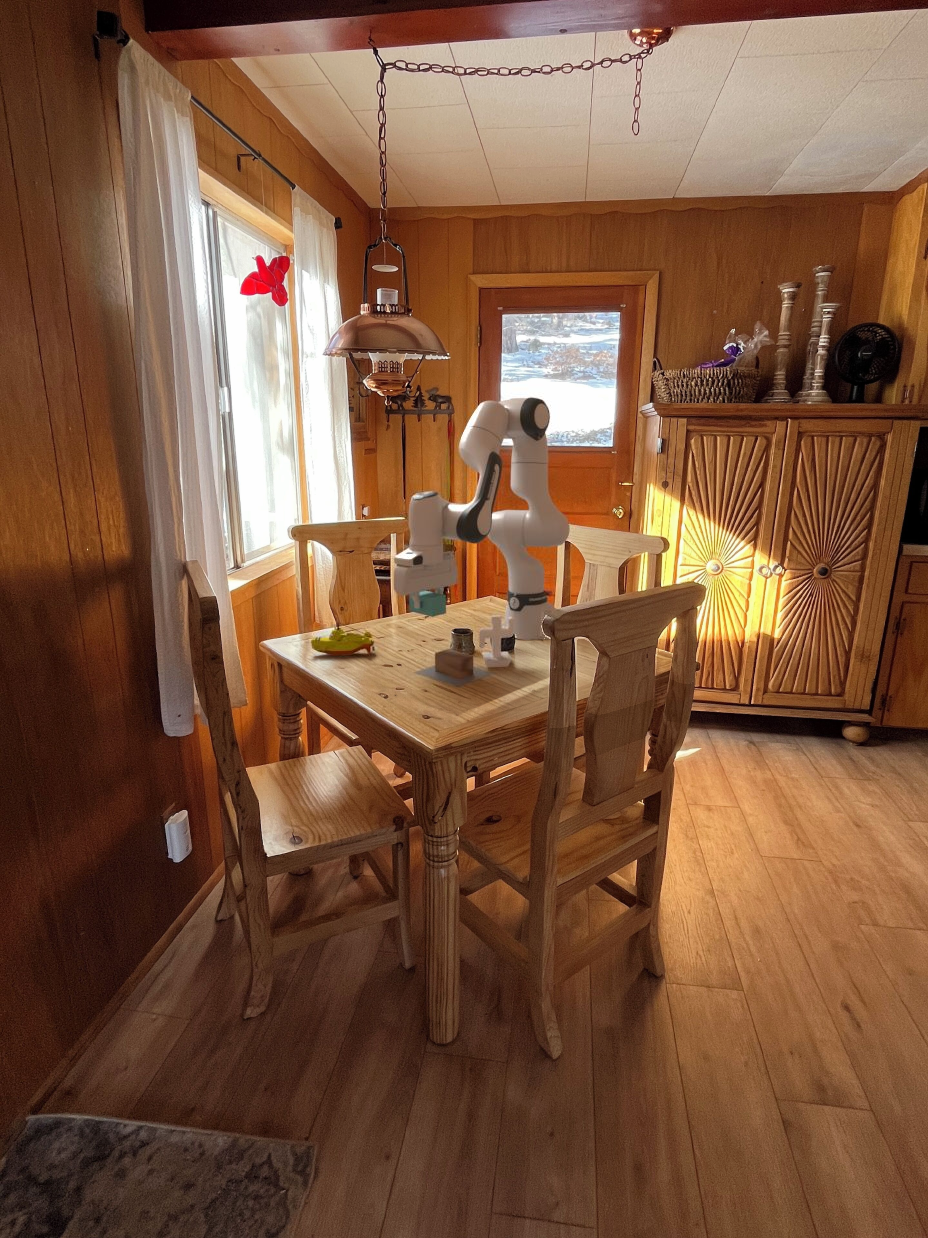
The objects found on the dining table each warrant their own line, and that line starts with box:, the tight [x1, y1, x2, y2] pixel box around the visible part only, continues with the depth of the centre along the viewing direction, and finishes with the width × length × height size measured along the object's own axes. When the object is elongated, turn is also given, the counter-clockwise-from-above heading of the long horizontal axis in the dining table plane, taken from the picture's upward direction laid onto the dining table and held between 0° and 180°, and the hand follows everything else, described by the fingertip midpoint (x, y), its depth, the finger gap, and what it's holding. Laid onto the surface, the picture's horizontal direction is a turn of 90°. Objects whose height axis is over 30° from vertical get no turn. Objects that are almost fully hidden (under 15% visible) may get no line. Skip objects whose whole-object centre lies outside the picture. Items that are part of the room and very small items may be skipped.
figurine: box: [478, 614, 514, 668], centre depth 188 cm, size 7×9×15 cm
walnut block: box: [434, 648, 474, 679], centre depth 182 cm, size 5×9×5 cm, turn 47°
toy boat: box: [310, 621, 376, 657], centre depth 202 cm, size 6×18×10 cm, turn 94°
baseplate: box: [413, 665, 495, 688], centre depth 183 cm, size 14×16×2 cm
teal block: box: [408, 590, 447, 617], centre depth 187 cm, size 5×9×5 cm, turn 46°
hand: (427, 605), depth 187 cm, fingers closed on teal block, 5 cm apart
